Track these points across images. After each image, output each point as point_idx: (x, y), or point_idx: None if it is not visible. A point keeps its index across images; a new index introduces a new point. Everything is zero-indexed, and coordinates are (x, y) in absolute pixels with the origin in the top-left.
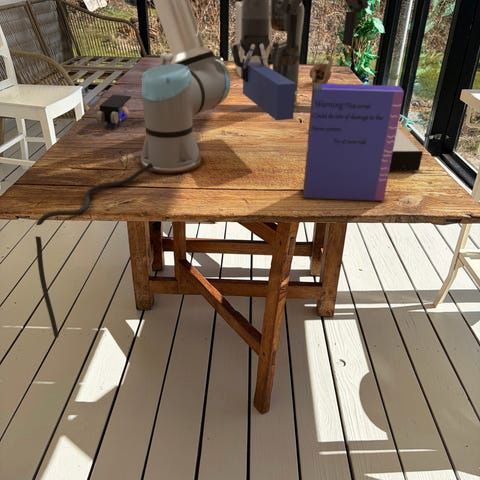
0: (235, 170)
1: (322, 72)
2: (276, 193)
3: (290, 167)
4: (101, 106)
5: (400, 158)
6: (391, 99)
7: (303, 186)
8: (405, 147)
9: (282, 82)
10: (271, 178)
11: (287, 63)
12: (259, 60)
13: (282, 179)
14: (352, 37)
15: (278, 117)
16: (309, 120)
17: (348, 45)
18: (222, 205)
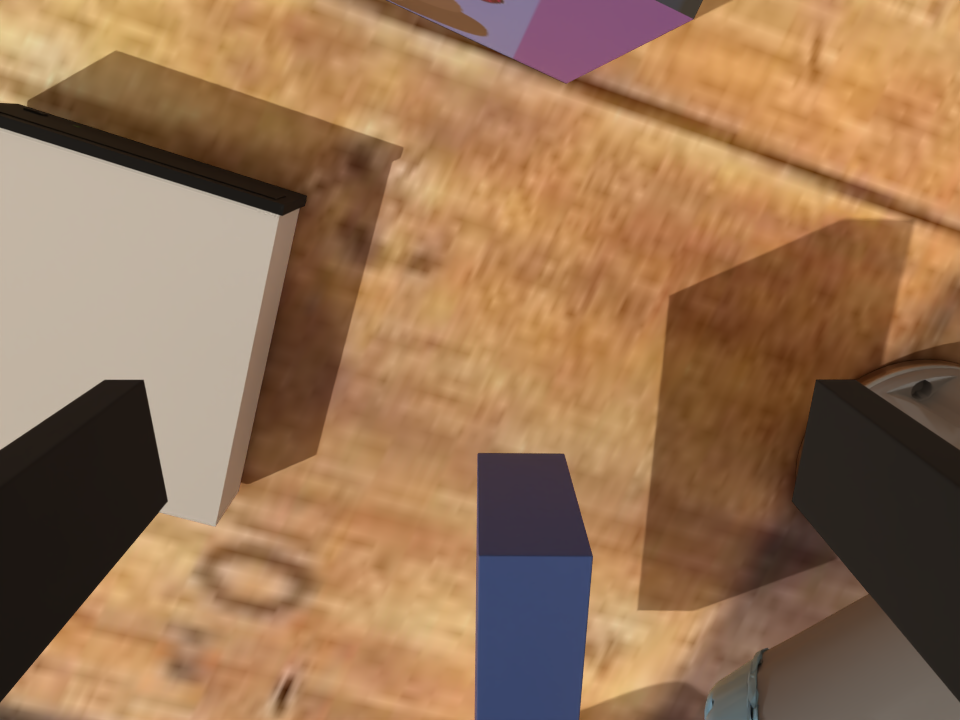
0: (721, 331)
1: None
2: (677, 84)
3: (515, 299)
4: None
5: (76, 132)
6: None
7: (567, 82)
8: (12, 190)
9: (545, 589)
10: (630, 223)
11: None
12: None
13: (595, 202)
14: (51, 416)
15: (555, 459)
16: (624, 52)
17: (142, 384)
18: (912, 46)
